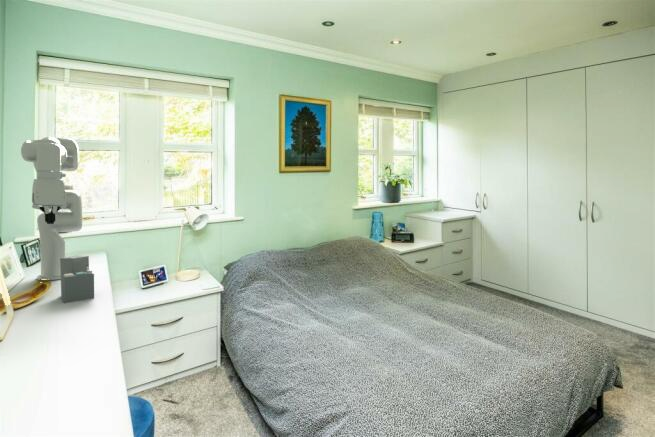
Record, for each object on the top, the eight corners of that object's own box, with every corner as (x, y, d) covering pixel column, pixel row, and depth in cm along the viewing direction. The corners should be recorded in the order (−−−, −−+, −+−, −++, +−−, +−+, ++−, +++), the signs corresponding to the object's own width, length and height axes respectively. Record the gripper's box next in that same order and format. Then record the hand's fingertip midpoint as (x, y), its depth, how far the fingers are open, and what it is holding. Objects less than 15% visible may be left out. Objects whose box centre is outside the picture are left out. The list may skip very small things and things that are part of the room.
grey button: (86, 273, 148) (86, 270, 148) (90, 273, 149) (90, 269, 149) (87, 274, 147) (87, 270, 147) (91, 273, 148) (91, 270, 148)
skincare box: (73, 297, 149) (73, 258, 148) (59, 295, 151) (58, 257, 149) (91, 291, 157) (90, 255, 156) (77, 290, 159) (76, 254, 158)
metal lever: (86, 273, 150) (85, 264, 150) (88, 272, 150) (88, 264, 150) (86, 273, 149) (86, 264, 149) (89, 272, 150) (88, 264, 150)
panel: (61, 300, 145) (61, 275, 144) (90, 295, 152) (90, 271, 151) (64, 303, 142) (64, 277, 141) (94, 298, 149) (94, 273, 148)
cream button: (63, 282, 144) (63, 274, 144) (71, 281, 146) (71, 273, 146) (65, 283, 142) (65, 275, 142) (73, 282, 144) (73, 274, 144)
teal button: (75, 280, 147) (75, 272, 146) (82, 279, 149) (82, 271, 148) (77, 281, 145) (77, 273, 145) (84, 280, 147) (84, 272, 147)
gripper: (69, 176, 149) (70, 221, 150) (21, 174, 137) (23, 223, 139) (75, 177, 144) (75, 223, 146) (26, 175, 133) (28, 225, 134)
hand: (50, 223), depth 142 cm, fingers closed
